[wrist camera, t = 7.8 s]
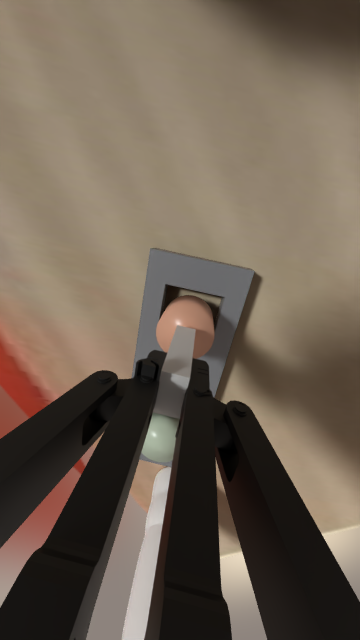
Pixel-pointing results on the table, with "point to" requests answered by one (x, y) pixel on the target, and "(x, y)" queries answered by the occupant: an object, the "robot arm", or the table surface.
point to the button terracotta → (187, 323)
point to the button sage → (160, 438)
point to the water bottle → (147, 561)
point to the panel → (200, 278)
